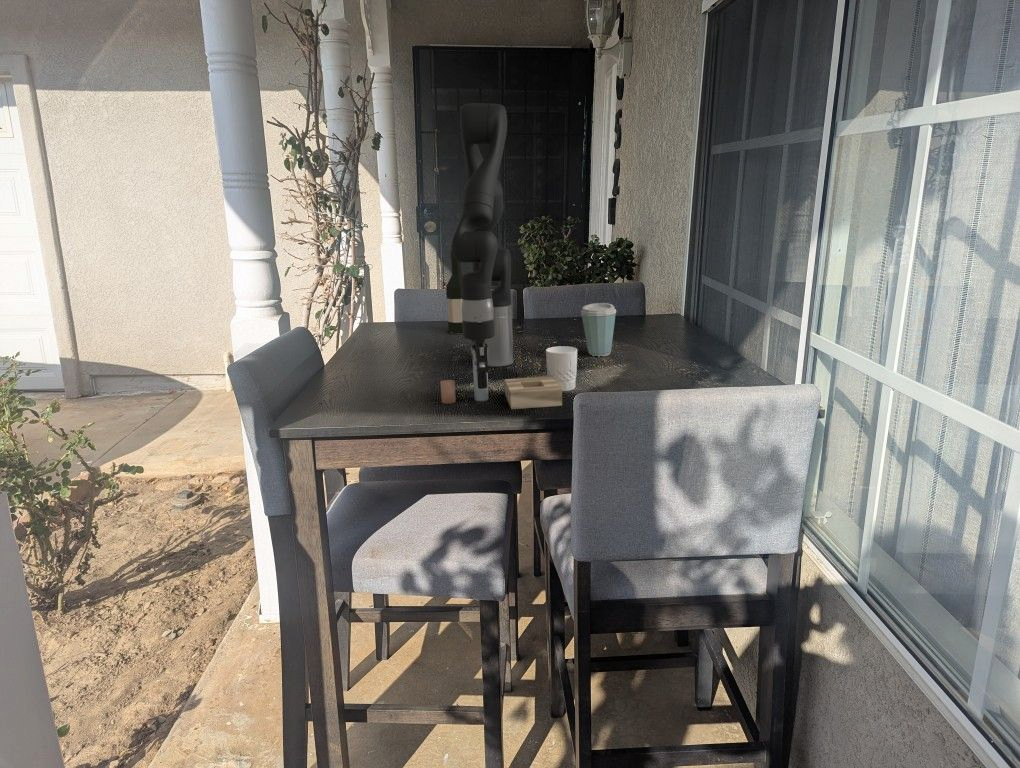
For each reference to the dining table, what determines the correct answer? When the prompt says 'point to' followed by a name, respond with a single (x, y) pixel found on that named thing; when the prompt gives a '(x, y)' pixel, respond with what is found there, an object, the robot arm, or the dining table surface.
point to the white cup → (562, 366)
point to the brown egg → (448, 391)
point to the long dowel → (478, 393)
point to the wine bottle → (454, 298)
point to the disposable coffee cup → (598, 327)
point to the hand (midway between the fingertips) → (481, 383)
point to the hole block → (533, 392)
